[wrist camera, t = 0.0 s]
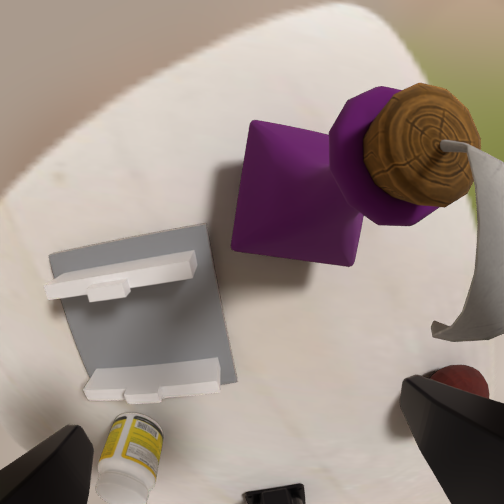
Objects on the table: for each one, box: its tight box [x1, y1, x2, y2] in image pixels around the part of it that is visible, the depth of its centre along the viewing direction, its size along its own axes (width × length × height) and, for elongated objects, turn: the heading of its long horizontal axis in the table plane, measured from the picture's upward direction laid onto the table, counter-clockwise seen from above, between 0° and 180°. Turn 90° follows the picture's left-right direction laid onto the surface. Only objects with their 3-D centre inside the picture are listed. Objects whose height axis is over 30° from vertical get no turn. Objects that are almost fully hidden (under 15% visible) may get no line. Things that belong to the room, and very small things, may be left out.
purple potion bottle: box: [231, 83, 504, 342], centre depth 12 cm, size 8×8×18 cm
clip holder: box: [44, 223, 237, 404], centre depth 19 cm, size 12×12×5 cm
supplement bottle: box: [95, 413, 163, 504], centre depth 20 cm, size 5×5×8 cm
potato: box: [430, 365, 489, 399], centre depth 23 cm, size 7×10×6 cm
